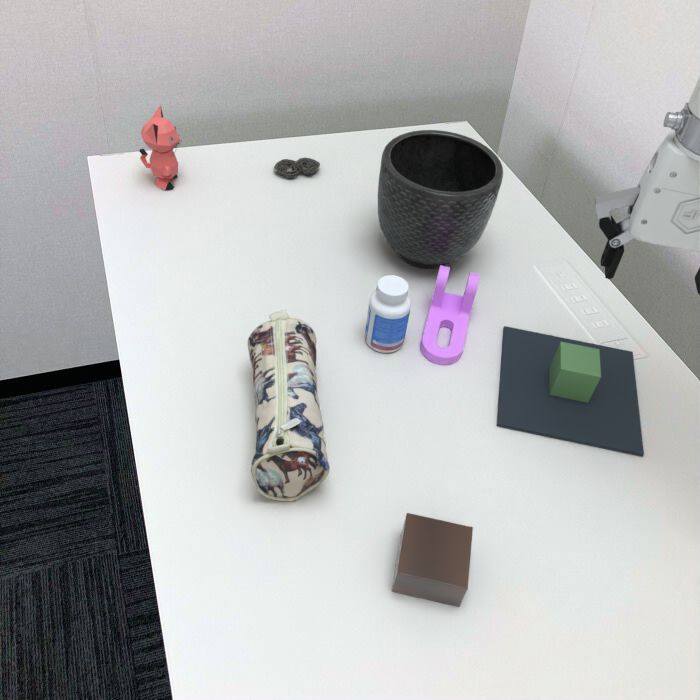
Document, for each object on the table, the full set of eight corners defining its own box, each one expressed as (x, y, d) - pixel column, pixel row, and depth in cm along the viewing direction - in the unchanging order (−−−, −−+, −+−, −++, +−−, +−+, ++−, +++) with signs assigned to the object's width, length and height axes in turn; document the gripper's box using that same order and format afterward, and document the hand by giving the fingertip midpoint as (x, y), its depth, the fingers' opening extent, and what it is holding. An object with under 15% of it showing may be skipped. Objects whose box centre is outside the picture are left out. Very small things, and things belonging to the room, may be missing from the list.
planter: (466, 300, 107) (491, 209, 96) (354, 268, 110) (366, 175, 98) (488, 234, 119) (513, 146, 107) (387, 207, 121) (401, 118, 110)
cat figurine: (181, 195, 118) (175, 127, 110) (138, 191, 118) (128, 123, 109) (188, 171, 123) (183, 104, 115) (147, 167, 123) (138, 100, 114)
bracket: (433, 297, 107) (441, 259, 102) (470, 305, 106) (481, 268, 101) (417, 359, 98) (425, 321, 93) (458, 368, 97) (469, 331, 92)
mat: (631, 354, 102) (632, 351, 102) (642, 456, 90) (644, 454, 90) (503, 328, 104) (504, 325, 103) (496, 426, 91) (497, 423, 91)
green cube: (586, 375, 98) (599, 349, 94) (588, 403, 95) (601, 377, 91) (549, 367, 98) (560, 341, 95) (549, 395, 95) (560, 369, 91)
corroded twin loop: (323, 176, 126) (324, 171, 125) (278, 181, 123) (278, 175, 123) (315, 160, 129) (315, 155, 128) (270, 165, 127) (270, 159, 126)
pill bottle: (411, 345, 100) (423, 291, 93) (379, 359, 97) (389, 305, 90) (388, 320, 102) (397, 266, 95) (356, 333, 100) (363, 279, 93)
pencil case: (328, 503, 81) (335, 451, 74) (250, 506, 80) (250, 453, 73) (313, 358, 96) (317, 303, 89) (247, 359, 95) (247, 304, 88)
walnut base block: (465, 546, 79) (473, 526, 76) (459, 607, 74) (467, 589, 71) (401, 532, 80) (406, 512, 77) (391, 591, 75) (396, 573, 72)
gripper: (628, 137, 65) (572, 286, 77) (831, 170, 63) (742, 317, 75) (622, 99, 70) (571, 244, 82) (810, 129, 69) (730, 272, 81)
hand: (653, 279), depth 79 cm, fingers open, 9 cm apart
